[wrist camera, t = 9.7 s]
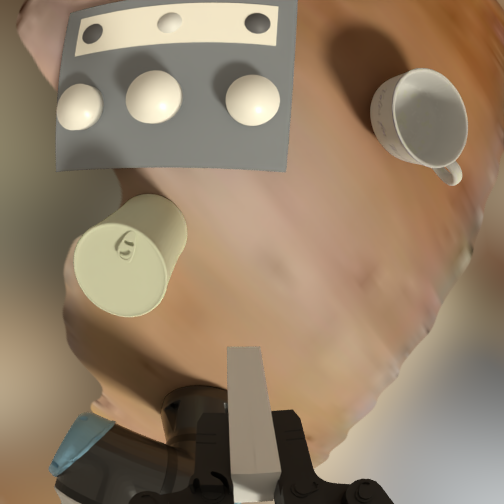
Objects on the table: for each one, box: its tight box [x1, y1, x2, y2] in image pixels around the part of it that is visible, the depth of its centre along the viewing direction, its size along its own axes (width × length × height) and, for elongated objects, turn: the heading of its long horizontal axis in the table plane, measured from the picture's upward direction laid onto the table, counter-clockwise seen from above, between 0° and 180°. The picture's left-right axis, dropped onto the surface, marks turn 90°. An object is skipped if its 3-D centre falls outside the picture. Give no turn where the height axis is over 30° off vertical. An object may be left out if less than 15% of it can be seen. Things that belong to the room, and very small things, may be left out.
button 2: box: [57, 84, 104, 130], centre depth 24 cm, size 5×5×2 cm
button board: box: [56, 0, 298, 172], centre depth 26 cm, size 20×26×3 cm
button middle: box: [126, 70, 183, 124], centre depth 23 cm, size 5×5×2 cm
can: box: [73, 194, 187, 317], centre depth 29 cm, size 9×9×12 cm
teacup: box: [370, 68, 468, 186], centre depth 28 cm, size 14×11×8 cm
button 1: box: [226, 75, 280, 126], centre depth 26 cm, size 5×5×2 cm
